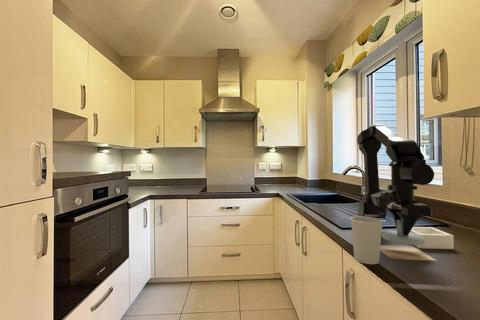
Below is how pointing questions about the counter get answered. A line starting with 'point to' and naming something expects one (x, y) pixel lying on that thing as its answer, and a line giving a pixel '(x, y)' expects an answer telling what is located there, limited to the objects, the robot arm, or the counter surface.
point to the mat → (404, 253)
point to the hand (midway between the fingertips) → (402, 233)
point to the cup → (366, 239)
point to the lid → (403, 236)
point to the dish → (434, 238)
